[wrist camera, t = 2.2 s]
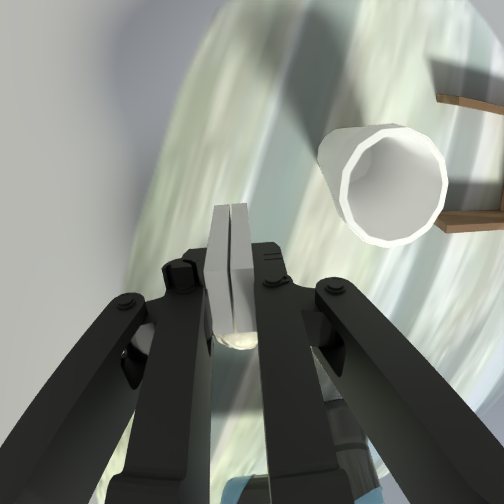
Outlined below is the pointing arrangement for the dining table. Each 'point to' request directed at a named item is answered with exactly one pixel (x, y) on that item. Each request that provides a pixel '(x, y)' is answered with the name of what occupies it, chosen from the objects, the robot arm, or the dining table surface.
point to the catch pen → (478, 218)
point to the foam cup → (384, 181)
